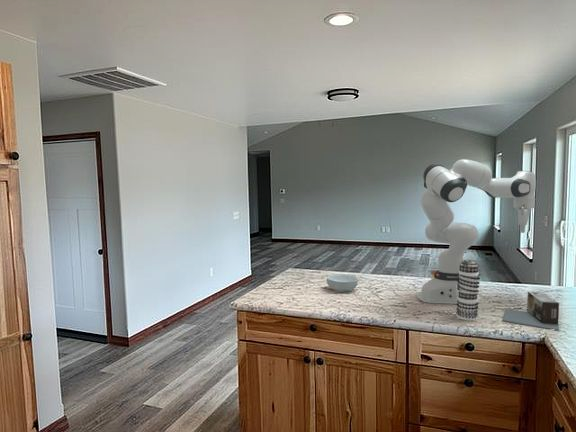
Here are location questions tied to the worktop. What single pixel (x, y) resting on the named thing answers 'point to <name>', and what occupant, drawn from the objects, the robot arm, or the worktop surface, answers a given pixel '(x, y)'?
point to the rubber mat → (525, 319)
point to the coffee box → (543, 307)
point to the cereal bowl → (342, 282)
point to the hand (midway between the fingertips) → (522, 232)
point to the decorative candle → (468, 290)
